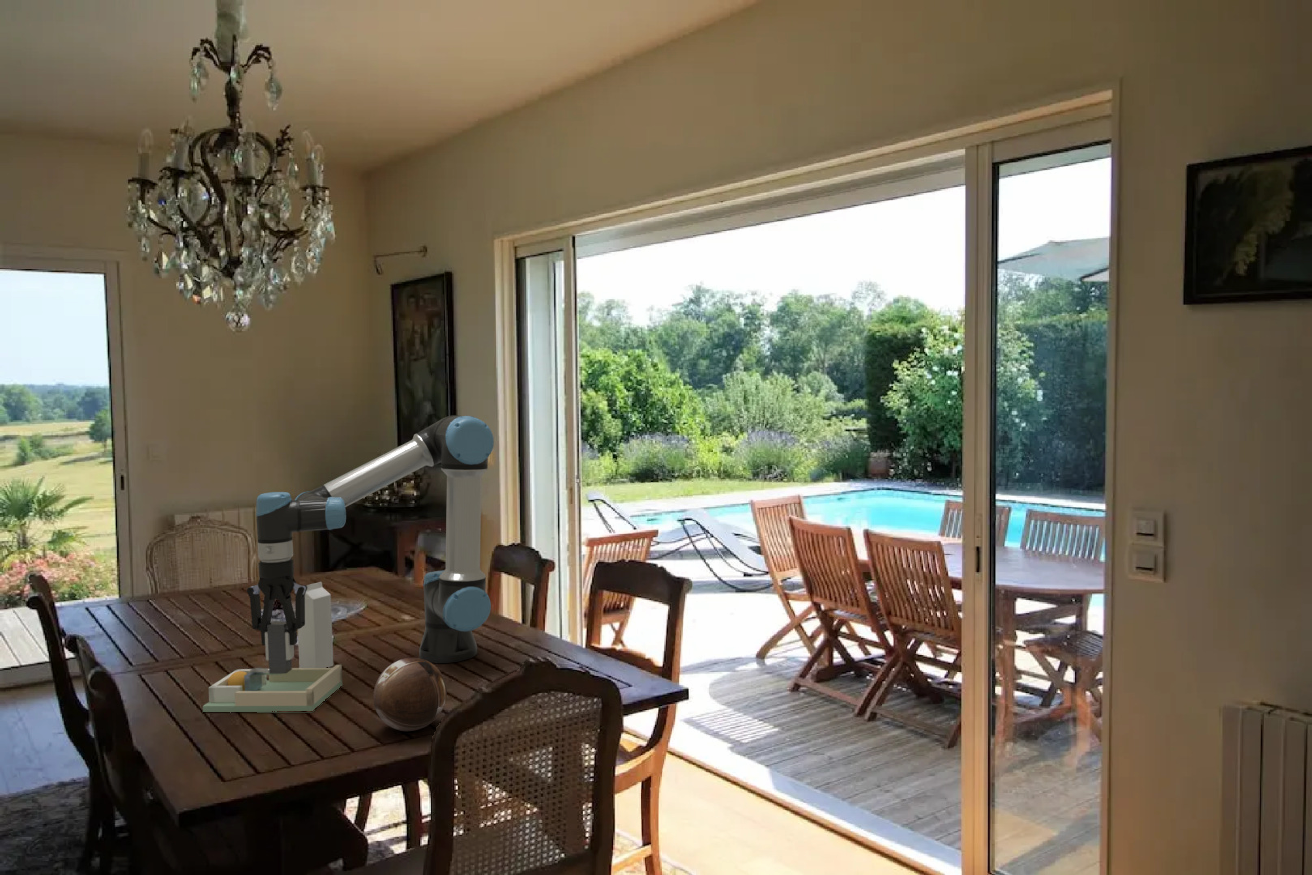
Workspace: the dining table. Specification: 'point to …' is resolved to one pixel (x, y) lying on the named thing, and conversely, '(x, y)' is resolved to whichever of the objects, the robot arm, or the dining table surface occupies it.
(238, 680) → the ball
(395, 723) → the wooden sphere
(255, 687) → the kicker rod
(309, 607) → the milk
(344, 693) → the dining table surface
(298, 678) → the pitch
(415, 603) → the dining table surface
